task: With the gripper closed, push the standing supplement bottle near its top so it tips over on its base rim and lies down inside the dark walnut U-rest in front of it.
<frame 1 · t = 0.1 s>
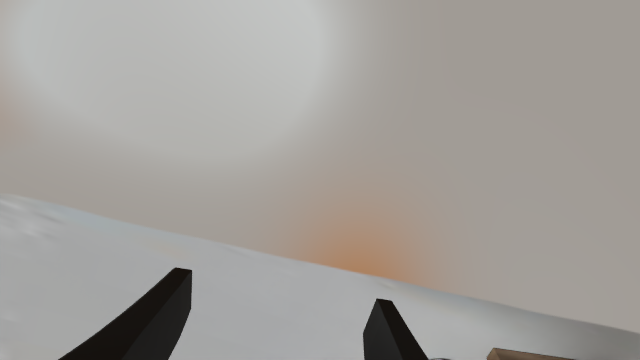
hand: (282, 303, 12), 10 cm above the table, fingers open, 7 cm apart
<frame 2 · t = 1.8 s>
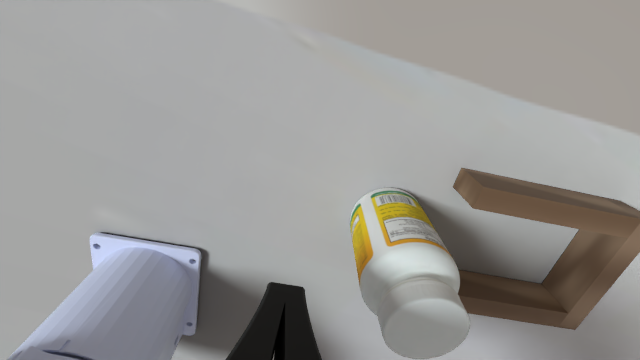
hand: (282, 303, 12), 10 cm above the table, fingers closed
u rest: (506, 240, 23), on the table
supplement bottle: (383, 216, 23), on the table
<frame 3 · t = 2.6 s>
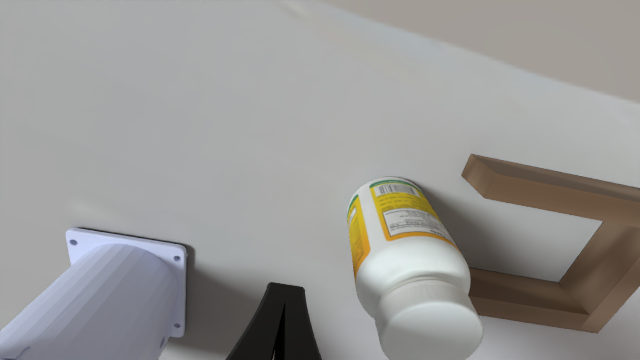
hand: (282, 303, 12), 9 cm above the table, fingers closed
u rest: (521, 235, 21), on the table
supplement bottle: (384, 208, 20), on the table
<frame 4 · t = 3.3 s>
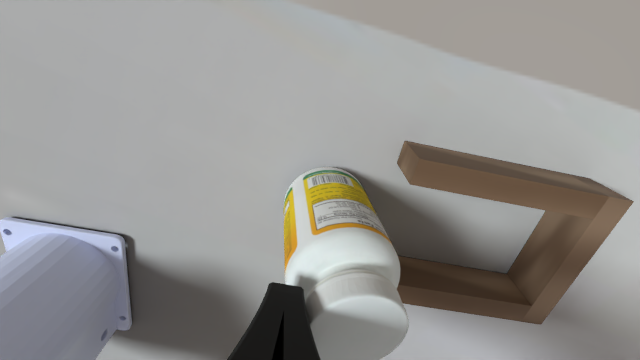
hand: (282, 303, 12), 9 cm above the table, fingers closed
u rest: (463, 225, 21), on the table
supplement bottle: (323, 200, 20), on the table
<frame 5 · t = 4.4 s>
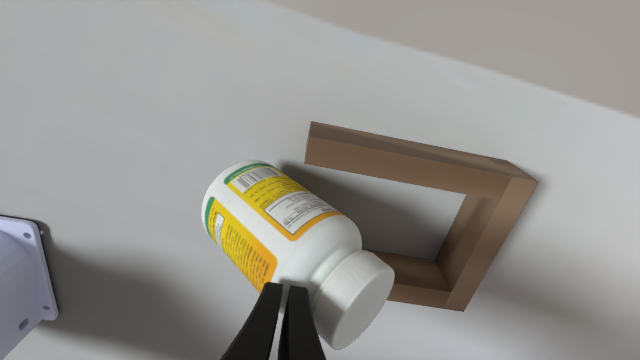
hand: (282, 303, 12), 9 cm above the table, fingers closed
u rest: (384, 210, 20), on the table
supplement bottle: (239, 197, 18), point 2 cm above the table, touching gripper
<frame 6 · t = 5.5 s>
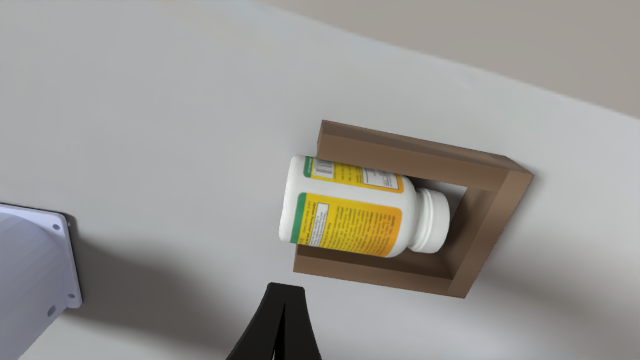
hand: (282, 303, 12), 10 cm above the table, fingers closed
u rest: (389, 203, 22), on the table
supplement bottle: (281, 196, 18), point 3 cm above the table
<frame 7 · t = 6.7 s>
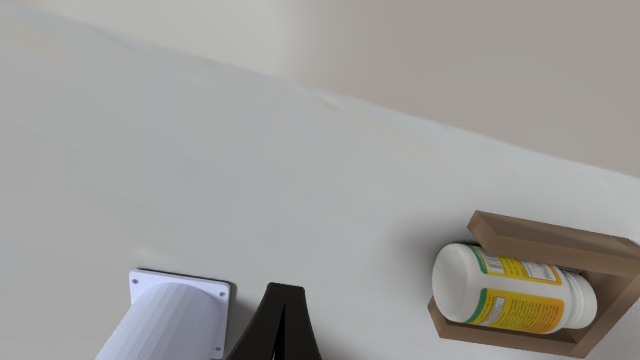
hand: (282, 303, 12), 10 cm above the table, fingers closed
u rest: (518, 274, 25), on the table
supplement bottle: (444, 280, 21), point 3 cm above the table
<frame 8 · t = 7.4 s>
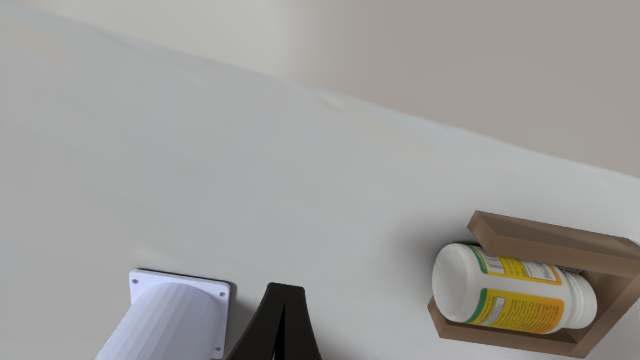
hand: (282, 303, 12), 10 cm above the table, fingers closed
u rest: (518, 274, 25), on the table
supplement bottle: (444, 280, 21), point 3 cm above the table
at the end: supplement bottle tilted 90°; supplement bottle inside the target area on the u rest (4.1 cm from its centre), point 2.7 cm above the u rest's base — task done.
